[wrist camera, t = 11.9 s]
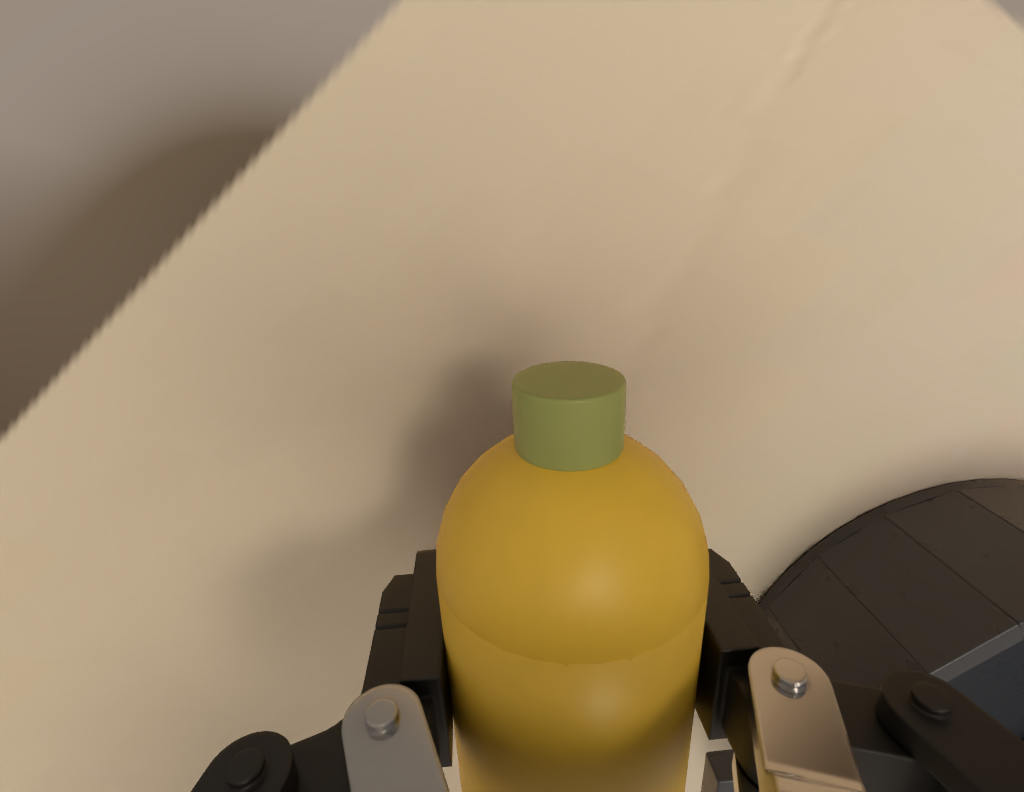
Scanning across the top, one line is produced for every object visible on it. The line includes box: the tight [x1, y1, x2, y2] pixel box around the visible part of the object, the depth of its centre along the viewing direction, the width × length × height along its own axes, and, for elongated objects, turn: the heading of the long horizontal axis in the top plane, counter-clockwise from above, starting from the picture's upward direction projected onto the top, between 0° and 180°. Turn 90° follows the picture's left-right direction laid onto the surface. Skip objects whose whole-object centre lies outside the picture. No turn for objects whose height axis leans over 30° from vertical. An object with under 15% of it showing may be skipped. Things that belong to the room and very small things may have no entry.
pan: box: [701, 479, 1024, 792], centre depth 20 cm, size 16×22×6 cm
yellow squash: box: [436, 361, 709, 792], centre depth 11 cm, size 11×5×5 cm, turn 2°
